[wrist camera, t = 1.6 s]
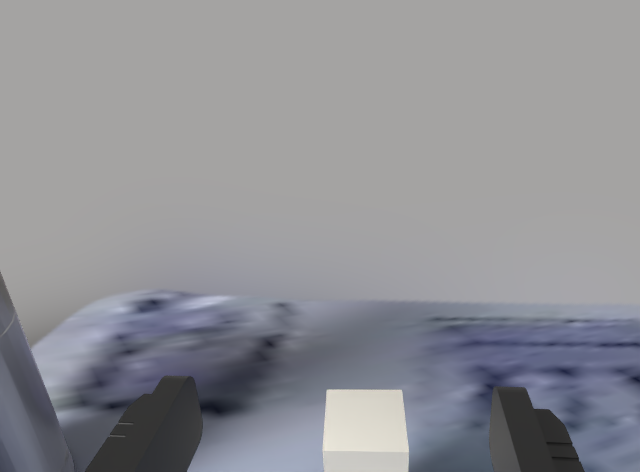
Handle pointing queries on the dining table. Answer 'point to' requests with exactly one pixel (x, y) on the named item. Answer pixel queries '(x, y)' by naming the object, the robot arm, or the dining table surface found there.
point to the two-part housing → (365, 431)
